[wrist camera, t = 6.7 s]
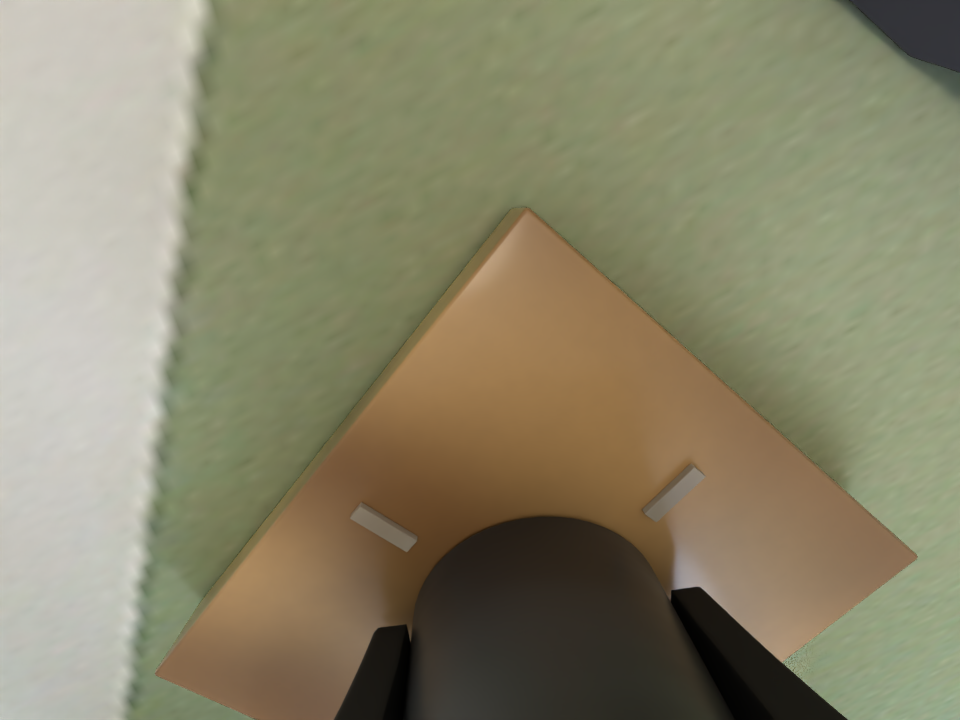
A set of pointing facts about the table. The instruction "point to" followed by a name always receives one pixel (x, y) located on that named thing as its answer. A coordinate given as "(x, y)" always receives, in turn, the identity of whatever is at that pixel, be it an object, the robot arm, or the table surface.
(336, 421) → the table surface
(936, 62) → the calculator
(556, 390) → the rotary dial plate
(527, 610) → the dial knob
